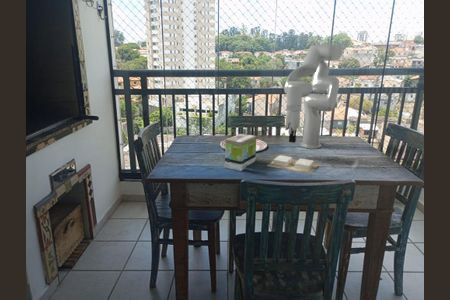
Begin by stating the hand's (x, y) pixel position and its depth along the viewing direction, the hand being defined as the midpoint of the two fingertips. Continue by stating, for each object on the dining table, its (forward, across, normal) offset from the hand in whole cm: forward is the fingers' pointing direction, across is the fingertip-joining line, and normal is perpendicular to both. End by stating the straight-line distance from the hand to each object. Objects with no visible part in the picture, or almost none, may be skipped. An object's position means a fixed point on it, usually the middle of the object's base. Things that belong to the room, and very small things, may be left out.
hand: (292, 141), depth 172 cm
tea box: (+8, +24, -19) cm, 32 cm away
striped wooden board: (+9, +13, +5) cm, 17 cm away
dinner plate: (+10, -3, -31) cm, 32 cm away
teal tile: (+6, +9, +11) cm, 16 cm away
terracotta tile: (+6, +9, 0) cm, 11 cm away
